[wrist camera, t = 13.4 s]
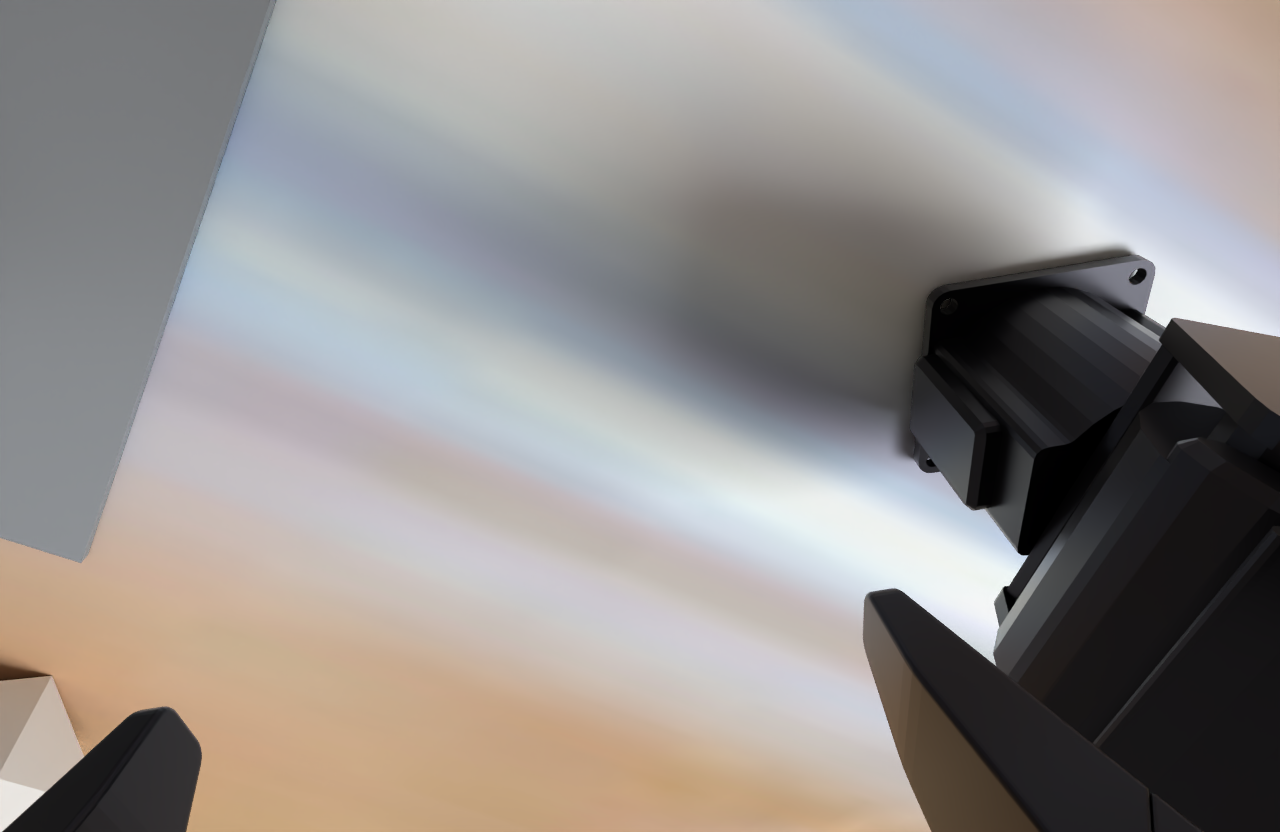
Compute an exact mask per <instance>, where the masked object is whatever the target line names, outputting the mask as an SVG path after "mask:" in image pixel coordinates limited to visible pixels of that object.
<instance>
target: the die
mask: <svg viewBox="0 0 1280 832" xmlns="http://www.w3.org/2000/svg"><path fill="white" fill-rule="evenodd" d="M83 757H84V755H83V753H82V750H81V748H80V745H79V743H78V740H77V738H76V735H75V733H74V730H73V728H72V725H71V722H70V720H69V717H68V715H67V712H66V710H65V707H64V705H63V702H62V700H61V697H60V695H59V692H58V690H57V687H56V685H55V682H54V680H53V677H52V676H44V677H34V678H24V679H15V680H5V681H0V832H2V831H3V830H4V829H6V828H7V827H8V826H9V825H10V824H11V823H12V822H13V821H14V820H15V819H16V818H18V817H19V816H20V815H21V814H22V813H23V812H24V811H25V810H26V809H27V808H29V807H30V806H31V805H32V804H33V803H34V802H35V801H36V800H37V799H38V798H39V797H41V796H42V795H43V794H44V793H45V792H46V791H47V790H48V789H49V788H50V787H52V786H53V785H54V784H55V783H56V782H57V781H58V780H59V779H60V778H61V777H63V776H64V775H65V774H66V773H67V772H68V771H69V770H70V769H71V768H72V767H73V766H75V765H76V764H77V763H78V762H79V761H80V760H81V759H82V758H83Z"/></svg>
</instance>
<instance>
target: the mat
mask: <svg viewBox="0 0 1280 832" xmlns="http://www.w3.org/2000/svg"><path fill="white" fill-rule="evenodd" d="M275 2H276V0H0V538H2V539H6V540H9V541H12V542H15V543H18V544H22V545H25V546H28V547H31V548H34V549H38V550H41V551H44V552H47V553H50V554H54V555H57V556H60V557H63V558H66V559H70V560H73V561H76V562H79V563H82V561H83V560H84V559H85V558H86V556H87V555H88V553H89V550H90V547H91V544H92V541H93V538H94V535H95V532H96V529H97V526H98V523H99V520H100V517H101V515H102V512H103V509H104V506H105V503H106V500H107V497H108V494H109V491H110V488H111V485H112V482H113V479H114V476H115V473H116V470H117V467H118V465H119V462H120V459H121V456H122V453H123V450H124V447H125V444H126V441H127V438H128V435H129V432H130V429H131V426H132V423H133V420H134V417H135V414H136V412H137V409H138V406H139V403H140V400H141V397H142V394H143V391H144V388H145V385H146V382H147V379H148V376H149V373H150V370H151V367H152V364H153V361H154V359H155V356H156V353H157V350H158V347H159V344H160V341H161V338H162V335H163V332H164V329H165V326H166V323H167V320H168V317H169V314H170V311H171V308H172V306H173V303H174V300H175V297H176V294H177V291H178V288H179V285H180V282H181V279H182V276H183V273H184V270H185V267H186V264H187V261H188V258H189V256H190V253H191V250H192V247H193V244H194V241H195V238H196V235H197V232H198V229H199V226H200V223H201V220H202V217H203V214H204V211H205V208H206V205H207V203H208V200H209V197H210V194H211V191H212V188H213V185H214V182H215V179H216V176H217V173H218V170H219V167H220V164H221V161H222V158H223V155H224V152H225V150H226V147H227V144H228V141H229V138H230V135H231V132H232V129H233V126H234V123H235V120H236V117H237V114H238V111H239V108H240V105H241V102H242V99H243V97H244V94H245V91H246V88H247V85H248V82H249V79H250V76H251V73H252V70H253V67H254V64H255V61H256V58H257V55H258V52H259V49H260V47H261V44H262V41H263V38H264V35H265V32H266V29H267V26H268V23H269V20H270V17H271V14H272V11H273V8H274V5H275Z"/></svg>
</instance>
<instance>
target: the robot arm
mask: <svg viewBox="0 0 1280 832" xmlns="http://www.w3.org/2000/svg"><path fill="white" fill-rule="evenodd" d="M1136 269H1138V270H1137V272H1136V274H1135V275H1134V276H1133V277H1132V278H1130V279H1129V277H1130V275H1131V273H1132V272H1133V271H1134V270H1136ZM1154 276H1155V266H1154V264H1153V263H1152V262H1150V261H1149V260H1147V259H1145V258H1143V257H1141V256H1139V255H1131V256H1125V257H1118V258H1112V259H1106V260H1100V261H1093V262H1087V263H1081V264H1075V265H1068V266H1062V267H1056V268H1050V269H1043V270H1037V271H1031V272H1025V273H1018V274H1012V275H1006V276H1000V277H993V278H987V279H981V280H974V281H968V282H962V283H956V284H949V285H944V286H941V287H938V288H937V289H935V290H934V291H933V292H932V293H931V294H930V295H929V297H928V299H927V302H926V311H925V323H924V336H923V348H922V356H921V357H919V359H918V360H917V362H916V363H915V367H914V380H913V394H912V407H911V420H910V430H911V432H912V433H913V435H914V436H915V448H914V460H915V462H916V463H917V465H918V466H919V468H920V469H921V470H922V471H924V472H926V473H934V472H941V473H942V474H943V476H944V477H945V479H946V480H947V481H948V483H949V484H950V486H951V487H952V488H953V490H954V491H955V492H956V494H957V495H958V497H959V498H960V499H961V501H962V502H963V503H964V504H965V505H966V506H967V507H969V508H970V509H971V510H973V511H974V510H980V509H985V510H986V511H987V512H988V514H989V515H990V516H991V518H992V519H993V520H994V522H995V523H996V524H997V526H998V527H999V528H1000V530H1001V531H1002V532H1003V534H1004V535H1005V536H1006V538H1007V539H1008V540H1009V542H1010V543H1011V544H1012V546H1013V547H1014V548H1015V549H1016V551H1017V552H1018V553H1019V554H1021V555H1028V557H1027V559H1026V560H1025V562H1024V563H1023V565H1022V567H1021V568H1020V570H1019V571H1018V573H1017V574H1016V576H1015V578H1014V579H1013V581H1012V582H1011V584H1010V586H1005V587H1003V589H1002V590H1001V592H1000V593H999V595H998V597H997V598H996V600H995V601H994V605H995V610H996V614H997V618H998V623H999V629H998V632H997V637H996V642H995V647H994V652H993V655H994V659H995V662H996V666H997V667H996V666H995V665H994V664H993V663H991V662H990V661H989V660H988V659H986V658H985V657H984V656H983V655H981V654H980V653H979V652H978V651H976V650H975V649H974V648H973V647H971V646H970V645H969V644H967V643H966V642H965V641H964V640H962V639H961V638H960V637H959V636H957V635H956V634H955V633H954V632H952V631H951V630H950V629H949V628H947V627H946V626H945V625H944V624H942V623H941V622H940V621H939V620H937V619H936V618H935V617H934V616H932V615H931V614H930V613H929V612H927V611H926V610H925V609H924V608H922V607H921V606H920V605H919V604H917V603H916V602H915V601H914V600H912V599H911V598H910V597H909V596H907V595H906V594H905V593H904V592H902V591H900V590H898V589H886V590H879V591H873V592H869V593H868V594H867V595H866V597H865V600H864V620H863V642H864V647H865V652H866V655H867V658H868V661H869V664H870V667H871V671H872V674H873V677H874V680H875V683H876V686H877V689H878V692H879V695H880V698H881V702H882V705H883V708H884V711H885V714H886V717H887V720H888V723H889V726H890V729H891V733H892V736H893V739H894V742H895V745H896V748H897V751H898V754H899V757H900V760H901V762H902V765H903V768H904V770H905V773H906V775H907V778H908V780H909V782H910V785H911V787H912V789H913V792H914V794H915V796H916V798H917V801H918V803H919V805H920V807H921V809H922V812H923V814H924V816H925V818H926V821H927V823H928V825H929V827H930V829H931V832H1280V337H1276V336H1270V335H1265V334H1260V333H1254V332H1249V331H1243V330H1238V329H1233V328H1227V327H1222V326H1217V325H1211V324H1206V323H1200V322H1195V321H1190V320H1184V319H1179V318H1172V319H1171V321H1170V322H1169V324H1168V326H1167V327H1166V328H1165V327H1164V326H1162V325H1160V324H1159V323H1157V322H1155V321H1154V320H1152V319H1151V318H1149V317H1147V316H1146V315H1145V311H1146V307H1147V303H1148V299H1149V295H1150V291H1151V287H1152V283H1153V280H1154ZM947 299H952V300H951V303H950V305H949V306H948V307H947V308H944V309H940V307H941V304H942V303H943V302H944V301H945V300H947ZM928 457H930V458H931V459H929V460H927V458H928ZM201 759H202V753H201V747H200V744H199V742H198V740H197V739H196V738H195V736H194V735H193V734H192V732H191V731H190V730H189V728H188V727H187V726H186V724H185V723H184V722H183V720H182V719H181V718H180V716H179V715H178V714H177V712H176V711H175V710H174V709H172V708H170V707H158V708H151V709H145V710H140V711H137V712H135V713H133V714H131V715H130V716H129V717H127V718H126V719H125V720H124V721H123V722H122V723H121V724H120V725H118V726H117V727H116V728H115V729H114V730H113V731H112V732H111V733H110V734H109V735H107V736H106V737H105V738H104V739H103V740H102V741H101V742H100V743H99V744H98V745H97V746H95V747H94V748H93V749H92V750H91V751H90V752H89V753H88V754H87V755H86V756H84V757H83V758H82V759H81V760H80V761H79V762H78V763H77V764H76V765H75V766H73V767H72V768H71V769H70V770H69V771H68V772H67V773H66V774H65V775H64V776H63V777H61V778H60V779H59V780H58V781H57V782H56V783H55V784H54V785H53V786H52V787H50V788H49V789H48V790H47V791H46V792H45V793H44V794H43V795H42V796H41V797H39V798H38V799H37V800H36V801H35V802H34V803H33V804H32V805H31V806H30V807H29V808H27V809H26V810H25V811H24V812H23V813H22V814H21V815H20V816H19V817H18V818H16V819H15V820H14V821H13V822H12V823H11V824H10V825H9V826H8V827H7V828H6V829H4V830H3V831H2V832H186V830H187V825H188V821H189V816H190V812H191V807H192V802H193V798H194V793H195V789H196V784H197V780H198V775H199V771H200V766H201Z"/></svg>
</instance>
